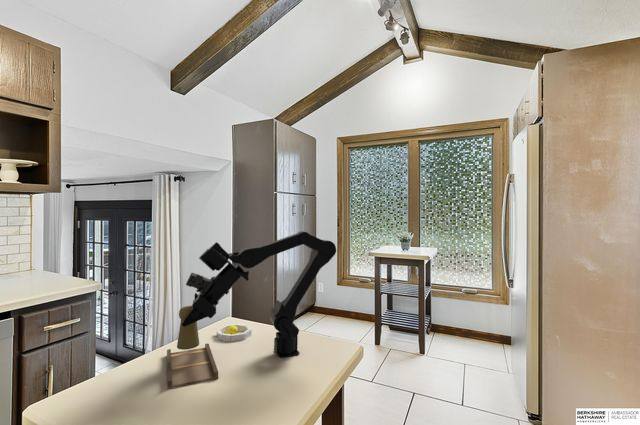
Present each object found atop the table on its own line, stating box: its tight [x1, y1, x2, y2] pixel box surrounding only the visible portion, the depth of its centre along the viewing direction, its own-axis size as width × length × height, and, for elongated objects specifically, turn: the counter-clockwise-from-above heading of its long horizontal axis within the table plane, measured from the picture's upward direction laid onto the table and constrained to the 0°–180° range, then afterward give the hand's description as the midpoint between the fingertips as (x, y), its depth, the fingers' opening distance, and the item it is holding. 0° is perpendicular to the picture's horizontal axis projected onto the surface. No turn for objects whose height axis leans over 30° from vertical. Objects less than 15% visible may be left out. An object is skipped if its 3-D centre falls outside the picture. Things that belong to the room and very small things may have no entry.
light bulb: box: [224, 326, 238, 334], centre depth 113 cm, size 3×6×4 cm, turn 117°
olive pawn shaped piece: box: [176, 305, 200, 351], centre depth 90 cm, size 6×6×11 cm
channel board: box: [166, 343, 219, 390], centre depth 89 cm, size 12×21×2 cm, turn 26°
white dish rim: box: [216, 323, 253, 343], centre depth 114 cm, size 12×12×2 cm
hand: (183, 322), depth 90 cm, fingers closed on olive pawn shaped piece, 5 cm apart
